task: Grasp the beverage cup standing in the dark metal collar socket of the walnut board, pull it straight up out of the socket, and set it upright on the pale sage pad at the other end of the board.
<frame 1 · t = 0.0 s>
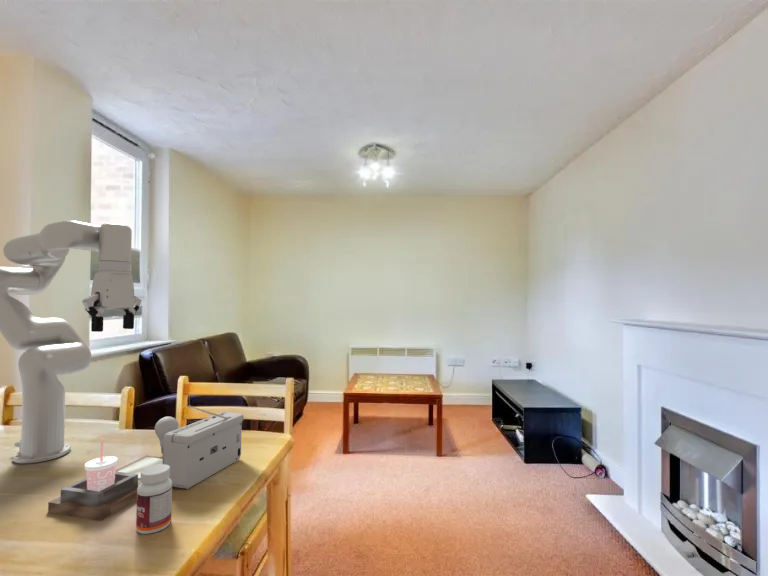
hand: (113, 330, 110), 37 cm above the table, tool pointing down, fingers open, 9 cm apart
pill bottle: (154, 527, 80), on the table
lightbulb: (166, 455, 116), on the table
stereo radio cassette player: (206, 473, 104), on the table
beverage cup: (100, 502, 89), resting in socket board
socket board: (127, 487, 96), on the table
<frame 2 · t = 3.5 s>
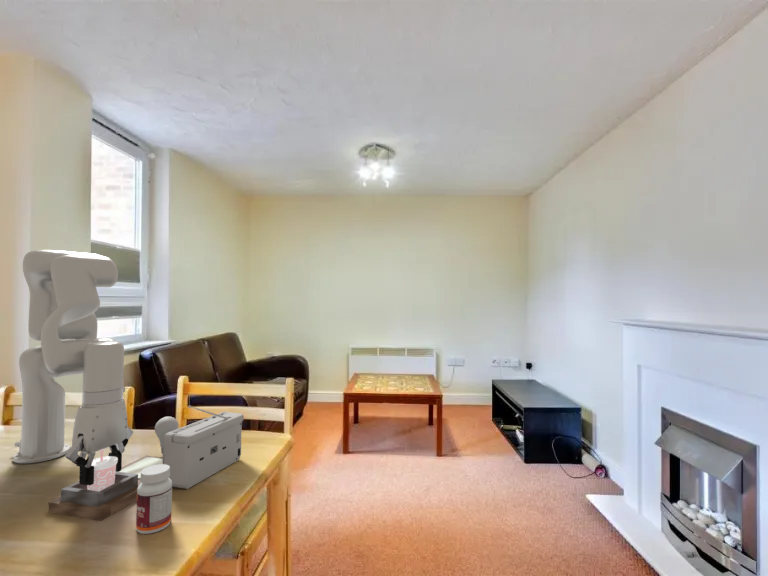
hand: (101, 476, 89), 6 cm above the table, tool pointing down, fingers closed on beverage cup, 6 cm apart
beverage cup: (100, 502, 89), resting in socket board, touching gripper
everything else where it was.
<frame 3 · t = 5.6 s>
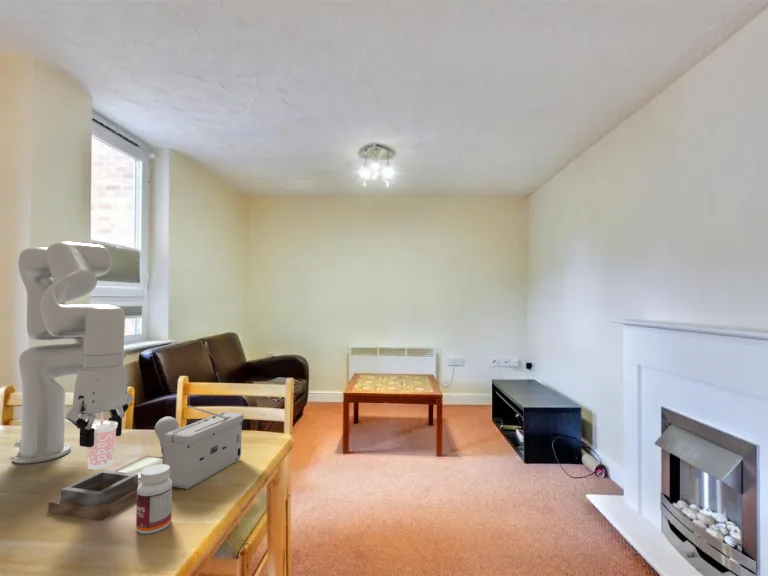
hand: (101, 439, 90), 14 cm above the table, tool pointing down, fingers closed on beverage cup, 6 cm apart
beverage cup: (100, 465, 90), point 8 cm above the table, touching gripper
everything else where it was.
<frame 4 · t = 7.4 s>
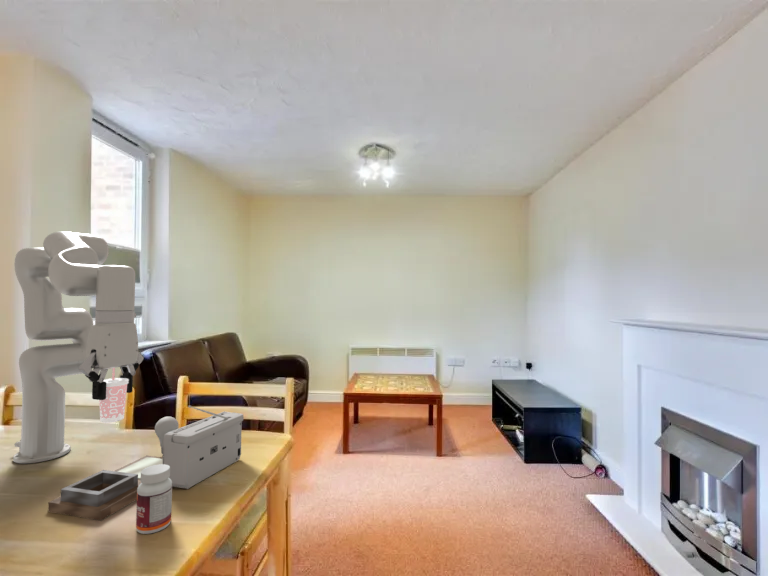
hand: (112, 394, 92), 23 cm above the table, tool pointing down, fingers closed on beverage cup, 6 cm apart
beverage cup: (112, 420, 92), point 17 cm above the table, touching gripper
everything else where it was.
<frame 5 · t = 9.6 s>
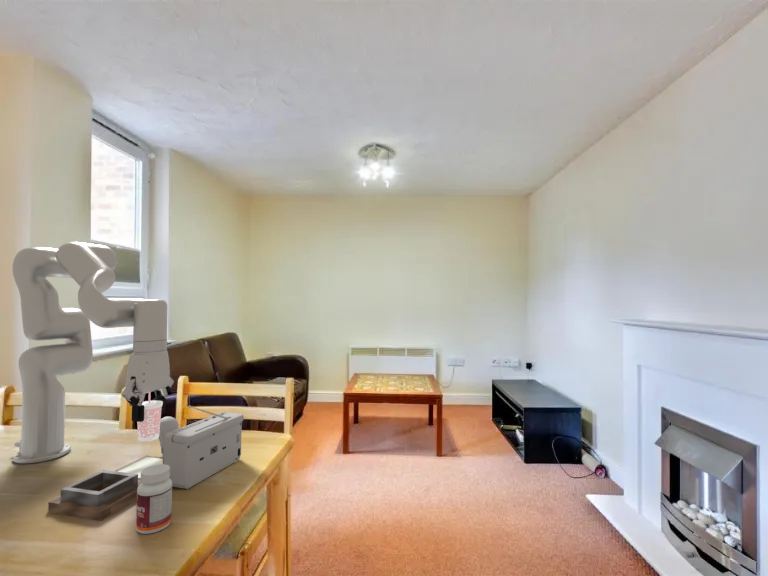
hand: (148, 416, 102), 15 cm above the table, tool pointing down, fingers closed on beverage cup, 6 cm apart
beverage cup: (148, 439, 102), point 9 cm above the table, touching gripper
everything else where it was.
when the fingers open (9 cm above the table, at t = 11.3 s): beverage cup stays where it is, resting on socket board.
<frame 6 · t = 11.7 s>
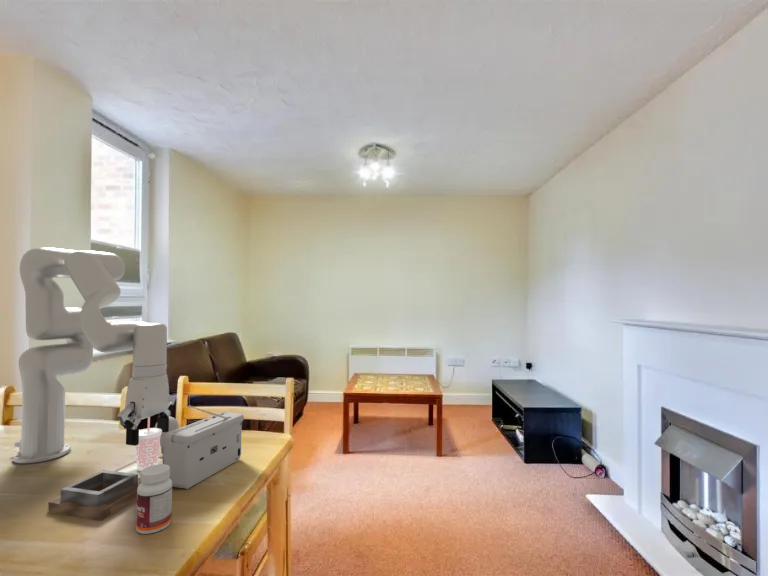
hand: (148, 437, 102), 10 cm above the table, tool pointing down, fingers open, 9 cm apart
beverage cup: (147, 467, 102), point 2 cm above the table, touching socket board
everything else where it was.
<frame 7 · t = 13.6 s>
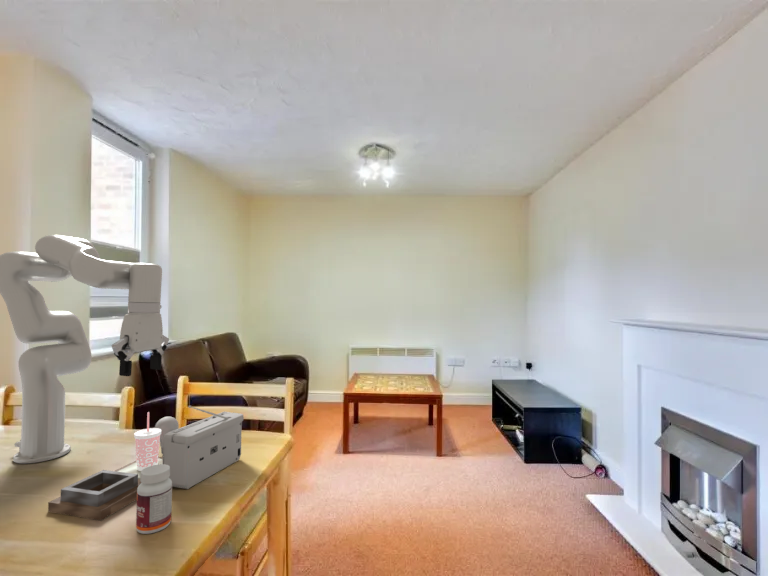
hand: (141, 372, 107), 26 cm above the table, tool pointing down, fingers open, 9 cm apart
nothing on the table moved.
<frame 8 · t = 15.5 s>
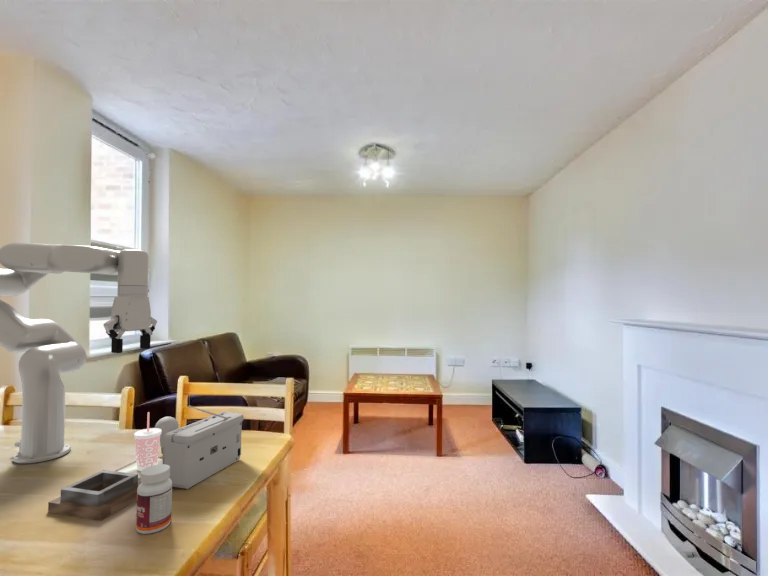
hand: (131, 350, 116), 30 cm above the table, tool pointing down, fingers open, 9 cm apart
nothing on the table moved.
at the end: beverage cup inside the target area on the socket board (0.2 cm from its centre), point 2.1 cm above the socket board's base; beverage cup tilted 0°; the gripper is holding nothing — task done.
